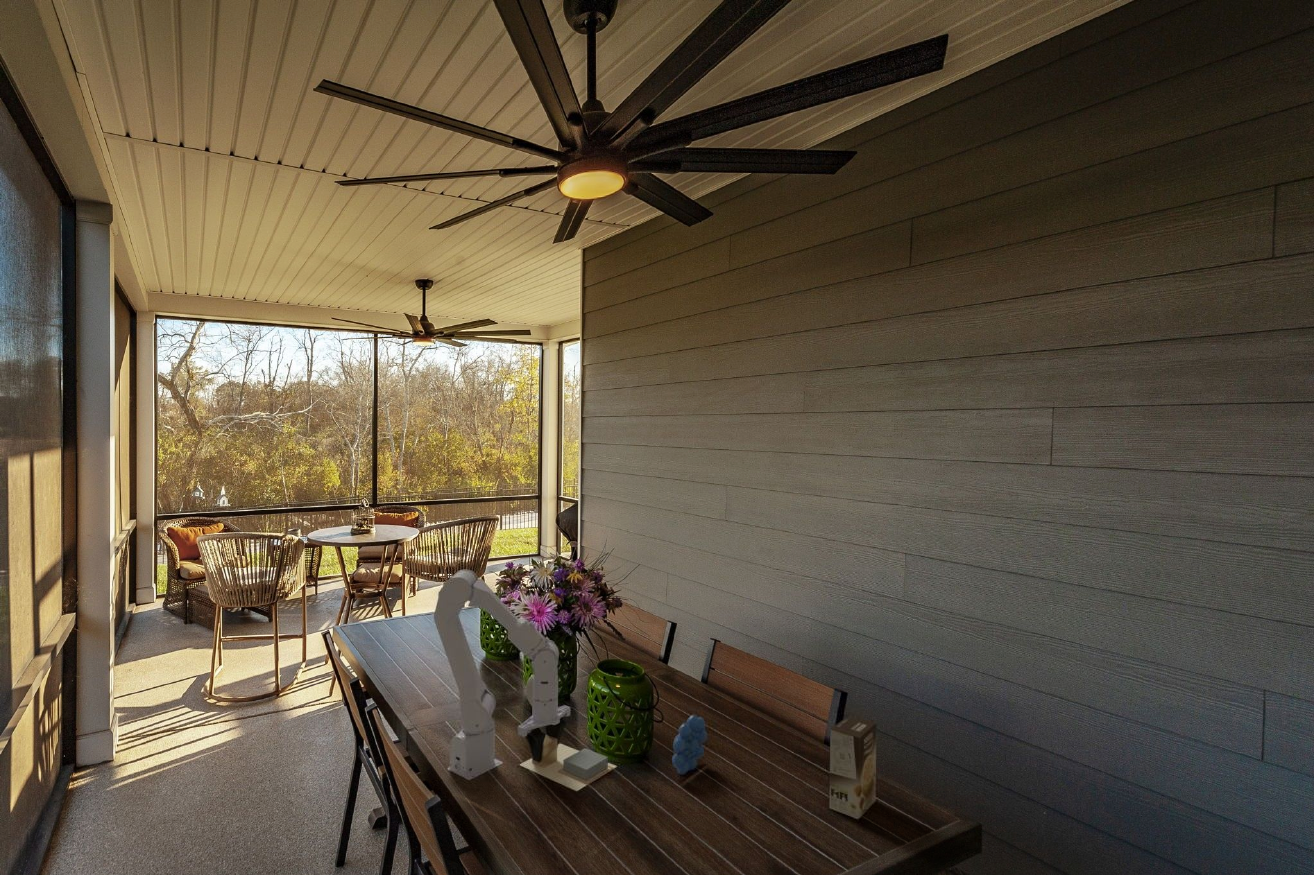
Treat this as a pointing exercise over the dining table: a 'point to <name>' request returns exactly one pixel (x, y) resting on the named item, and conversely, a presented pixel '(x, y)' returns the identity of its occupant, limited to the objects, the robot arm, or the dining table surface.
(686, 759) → the blue lumpy rounded block
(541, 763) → the maple block
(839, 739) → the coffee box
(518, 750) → the dining table surface
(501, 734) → the dining table surface
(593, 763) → the slate slab
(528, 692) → the donut
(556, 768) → the white flat sheet
